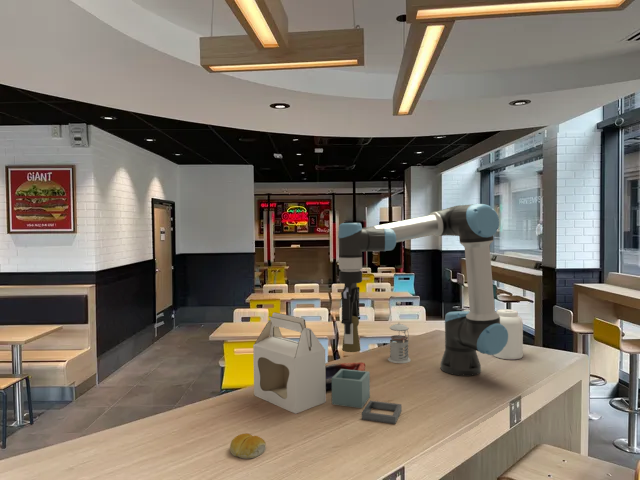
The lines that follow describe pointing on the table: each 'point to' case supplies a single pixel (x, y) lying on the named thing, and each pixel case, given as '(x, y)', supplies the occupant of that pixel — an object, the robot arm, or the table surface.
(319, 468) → the table surface
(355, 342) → the olive brown hourglass shape
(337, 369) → the dish
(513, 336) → the white jar
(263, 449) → the bread roll
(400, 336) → the french press
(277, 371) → the gable box
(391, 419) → the socket collar
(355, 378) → the open box
